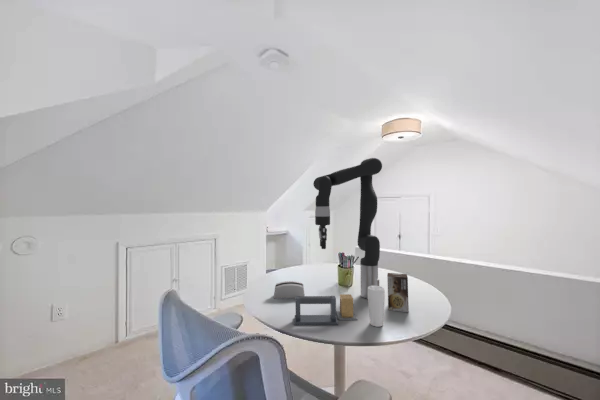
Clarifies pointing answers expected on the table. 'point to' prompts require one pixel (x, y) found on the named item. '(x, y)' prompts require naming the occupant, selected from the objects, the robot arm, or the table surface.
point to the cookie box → (398, 292)
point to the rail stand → (316, 319)
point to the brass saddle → (346, 305)
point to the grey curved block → (288, 289)
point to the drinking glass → (376, 305)
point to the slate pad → (345, 318)
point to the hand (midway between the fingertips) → (322, 247)
